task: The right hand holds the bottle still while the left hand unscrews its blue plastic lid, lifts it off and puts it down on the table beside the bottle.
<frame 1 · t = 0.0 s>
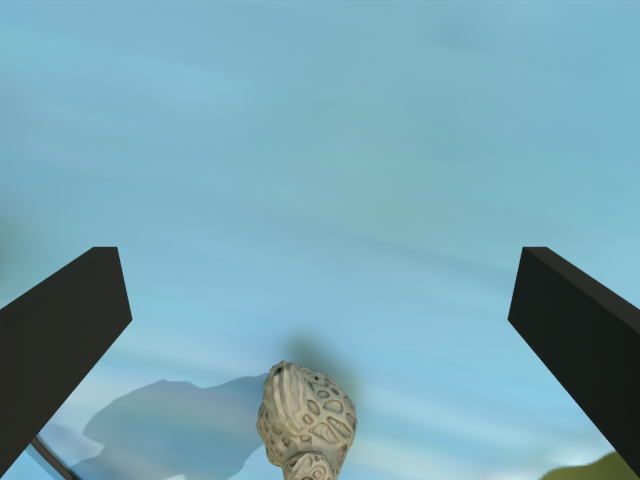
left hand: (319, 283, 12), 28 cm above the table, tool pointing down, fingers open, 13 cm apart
teapot: (309, 392, 50), on the table
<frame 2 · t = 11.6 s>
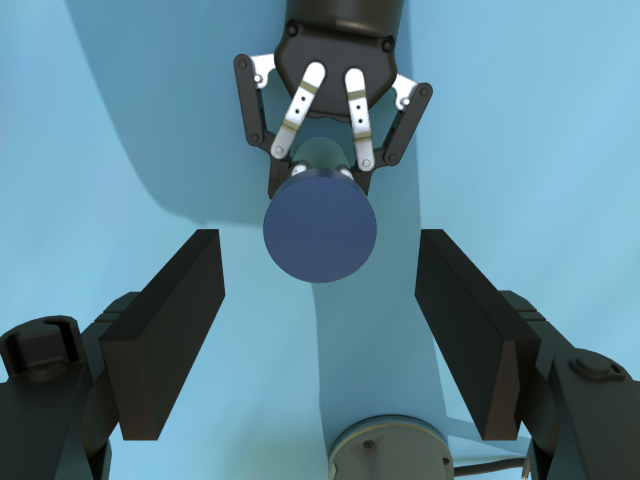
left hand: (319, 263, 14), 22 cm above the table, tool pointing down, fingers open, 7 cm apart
right hand: (314, 209, 30), fingers closed on bottle, 4 cm apart
lid: (319, 230, 17), point 18 cm above the table, screwed on, not yet turned
bottle: (319, 162, 34), on the table, touching right hand
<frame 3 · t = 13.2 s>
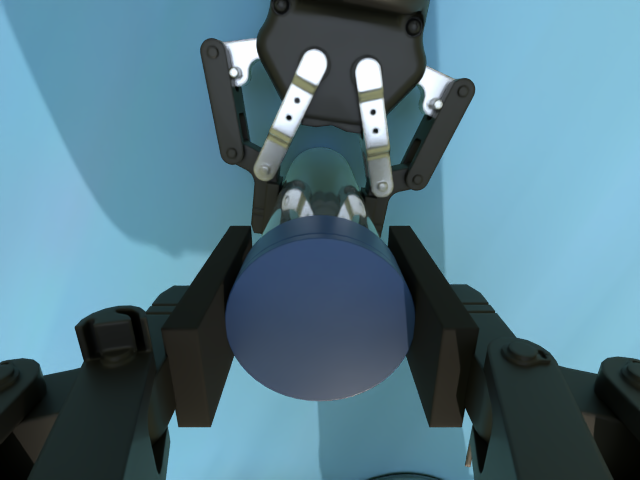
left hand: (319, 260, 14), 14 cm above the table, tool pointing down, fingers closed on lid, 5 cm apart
right hand: (313, 244, 23), fingers closed on bottle, 4 cm apart
lid: (320, 320, 10), point 18 cm above the table, screwed on, not yet turned, touching left hand
bottle: (320, 180, 28), on the table, touching right hand
when the left hand's fingers open (14 cm above the table, at t = 14.5 s): lid stays where it is, point 19 cm above the table.
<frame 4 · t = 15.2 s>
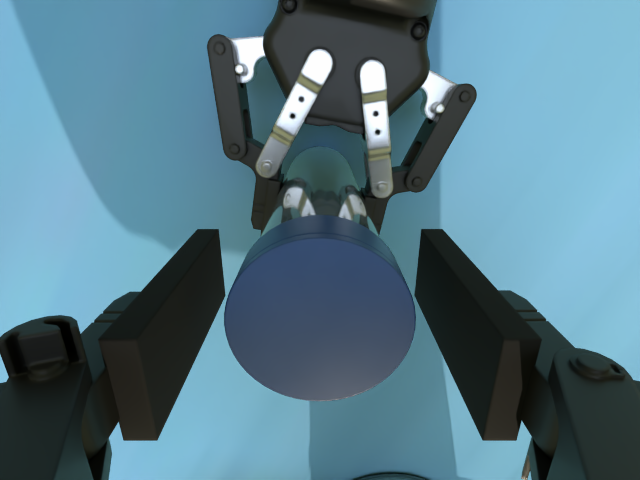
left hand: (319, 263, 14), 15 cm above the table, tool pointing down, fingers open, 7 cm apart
right hand: (311, 242, 23), fingers closed on bottle, 4 cm apart
lid: (319, 320, 10), point 19 cm above the table, turned 77° so far, risen 0.3 cm, still on its thread
bottle: (319, 179, 28), on the table, touching right hand
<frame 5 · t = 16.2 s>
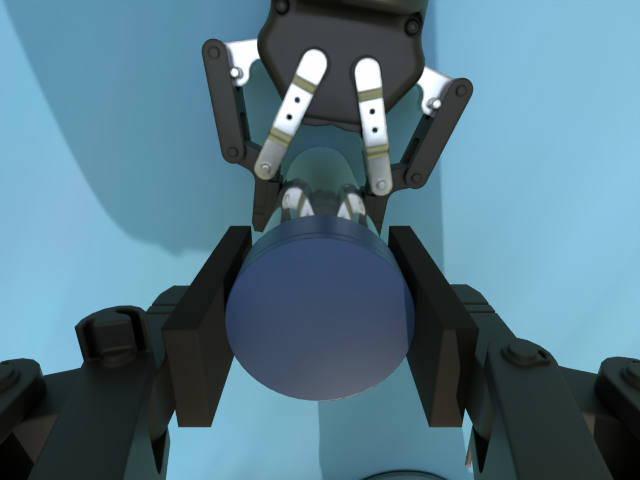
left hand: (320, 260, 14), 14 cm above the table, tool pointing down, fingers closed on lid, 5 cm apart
right hand: (313, 242, 23), fingers closed on bottle, 4 cm apart
lid: (320, 319, 10), point 19 cm above the table, turned 77° so far, risen 0.3 cm, still on its thread, touching left hand
bottle: (320, 179, 28), on the table, touching right hand
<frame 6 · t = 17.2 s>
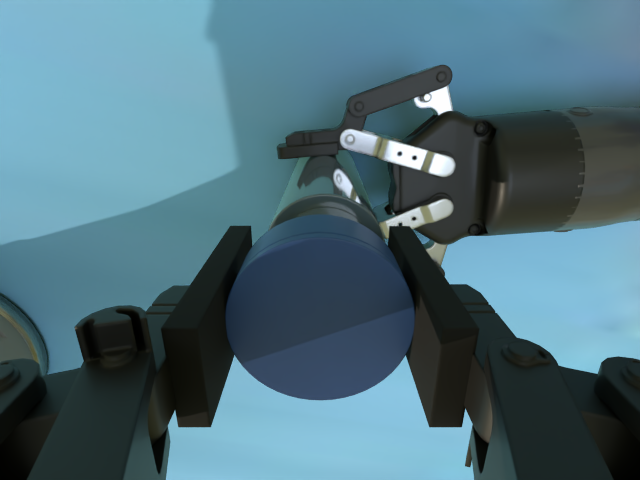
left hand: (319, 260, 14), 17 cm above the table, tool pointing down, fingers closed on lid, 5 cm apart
right hand: (285, 192, 25), fingers closed on bottle, 4 cm apart
lid: (320, 319, 11), point 21 cm above the table, off its thread, touching left hand
bottle: (325, 171, 30), on the table, touching right hand
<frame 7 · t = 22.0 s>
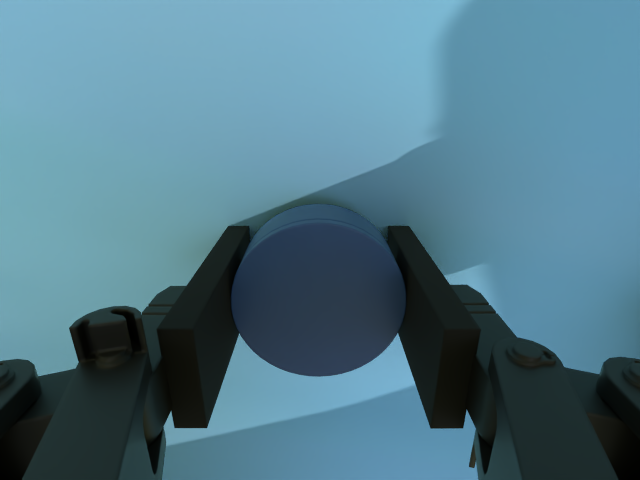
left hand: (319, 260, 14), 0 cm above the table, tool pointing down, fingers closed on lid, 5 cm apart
lid: (318, 300, 11), point 3 cm above the table, off its thread, touching left hand
when the left hand's fingers open (0 cm above the table, at t = 22.3 s): lid stays where it is, point 2 cm above the table.
when the right hand's fingers open (6 cm above the table, at t = 23.4 s): bottle stays where it is, on the table.
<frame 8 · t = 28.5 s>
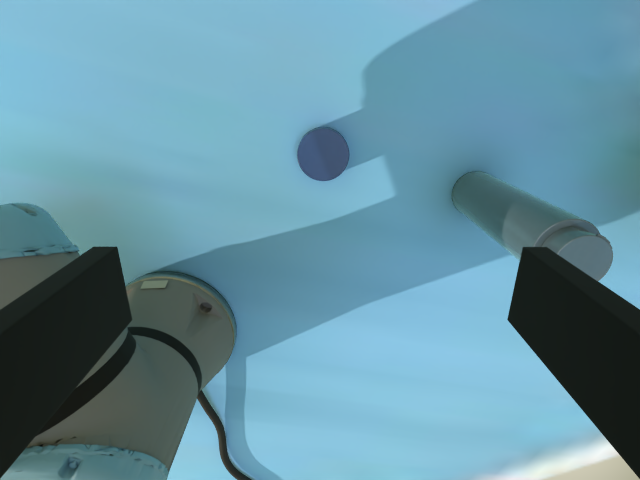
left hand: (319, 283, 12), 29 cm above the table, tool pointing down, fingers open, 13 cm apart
lid: (323, 154, 38), point 2 cm above the table, off its thread
bottle: (473, 192, 41), on the table
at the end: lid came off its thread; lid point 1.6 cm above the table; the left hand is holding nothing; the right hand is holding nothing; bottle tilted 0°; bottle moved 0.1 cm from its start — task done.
